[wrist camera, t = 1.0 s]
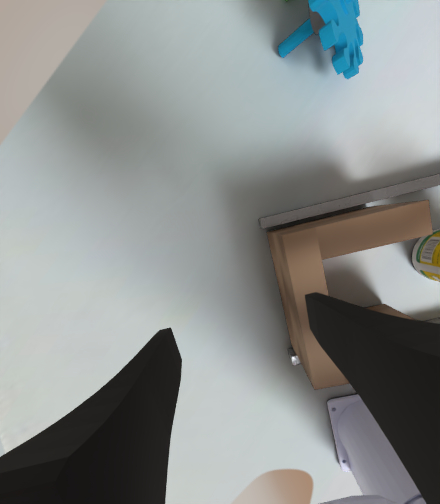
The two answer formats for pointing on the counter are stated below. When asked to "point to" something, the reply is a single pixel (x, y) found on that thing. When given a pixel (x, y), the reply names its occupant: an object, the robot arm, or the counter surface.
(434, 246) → the supplement bottle
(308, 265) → the housing
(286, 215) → the guide rails
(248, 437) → the counter surface
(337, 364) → the robot arm
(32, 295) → the counter surface
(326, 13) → the gear
